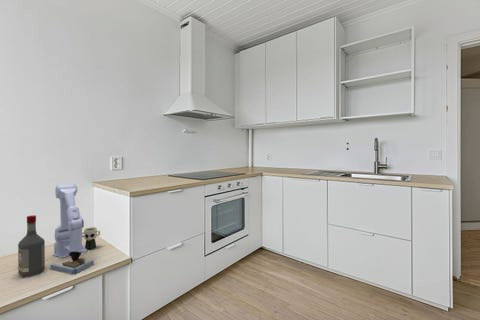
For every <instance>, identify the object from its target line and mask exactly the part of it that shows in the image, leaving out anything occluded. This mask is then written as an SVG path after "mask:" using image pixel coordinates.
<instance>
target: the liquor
mask: <svg viewBox="0 0 480 320" xmlns="http://www.w3.org/2000/svg"><path fill="white" fill-rule="evenodd" d="M36 225H37V215H35V214H34V215H33V214H32V215H28V216H26V227H27V228H26V229H27V230H26V235H25V236H24V237H23V238H21V240H20V241H19V242H18V244H17V250H18V251H17V252H18V253H17V254H18V257H17V259H18V260H17V262H18V264H17V265H18V274H19V275H20V276H21V277H22V278H31V277H33V276H36V275H39V274H41V273H42V272H44V270H45V268H46V261H45V260H46V259H45V257H46V255H45V254H46V252H45V251H46V250H45V249H46V248H45V245H46V244H45V243H46V242H45V241H46V240H45V239H44V238H43V237H41V236H40V235H39V234H38V233H37V227H36Z"/></svg>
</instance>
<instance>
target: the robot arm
mask: <svg viewBox="0 0 480 320" xmlns="http://www.w3.org/2000/svg"><path fill="white" fill-rule="evenodd" d="M77 193H78V186H77V184H76V183H72V184H71V183H70V184H61V185H59V184H58V185H56V186H55V198H56V199H59V208H60V213H59V214H60V217H59V218H60V225H58V226H57V227H56V228H55V229H54V240H55V242H54V245H53V254H52V256H53V257H58V258H66V257H69V256H70V258H71V260H72V261H71V262H73V261H75V260H77V259H80V258H81V257H80V256H81V255H86V254H87V253H88V249H85V245H83V237H82V232H83V228H84V225H85V222H84V219H83V217H82V216H81V213H80V209H79V208H78V207H77V206H76V200H75V199H76V198H75V196H76V195H77Z"/></svg>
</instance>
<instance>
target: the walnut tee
mask: <svg viewBox="0 0 480 320" xmlns="http://www.w3.org/2000/svg"><path fill="white" fill-rule="evenodd" d="M84 263H86V259H85V258H83V257H79V259H77V260H75V261H71V260H68V261H65V262H63V263H62V265H63V266H67V267H72V268H76V267H78V266H80V265H82V264H84Z"/></svg>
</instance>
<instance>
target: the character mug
mask: <svg viewBox="0 0 480 320" xmlns="http://www.w3.org/2000/svg"><path fill="white" fill-rule="evenodd" d="M98 236H101V230H98V227H95V226H90V227H86V228H84V230H83V231H82V238H84V240H85V243H84V244H85V245H84V248H85V249H87V250H89V249H90V250H92V249H95V248H96V247H97V244H96V238H97V237H98Z"/></svg>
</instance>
